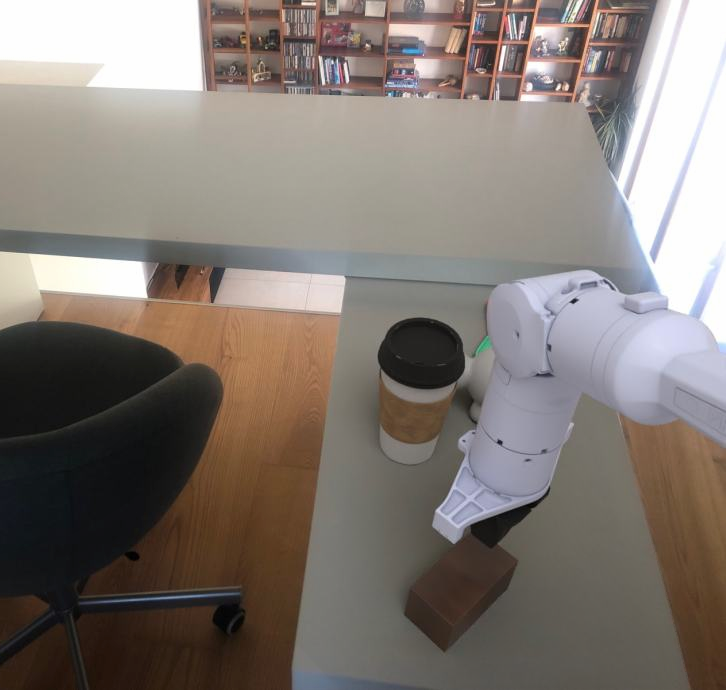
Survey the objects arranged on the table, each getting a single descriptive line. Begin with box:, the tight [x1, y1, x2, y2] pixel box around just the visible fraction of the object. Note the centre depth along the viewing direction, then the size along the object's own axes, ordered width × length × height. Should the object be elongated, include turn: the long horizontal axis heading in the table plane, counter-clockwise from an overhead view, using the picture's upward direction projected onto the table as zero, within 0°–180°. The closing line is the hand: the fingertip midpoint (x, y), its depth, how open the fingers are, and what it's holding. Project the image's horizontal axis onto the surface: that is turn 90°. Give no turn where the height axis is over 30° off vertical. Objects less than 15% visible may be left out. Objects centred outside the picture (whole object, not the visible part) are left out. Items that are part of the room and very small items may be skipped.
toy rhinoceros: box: [456, 347, 495, 424], centre depth 77 cm, size 7×12×8 cm, turn 68°
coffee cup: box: [376, 316, 466, 466], centre depth 71 cm, size 8×8×15 cm
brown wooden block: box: [403, 531, 519, 653], centre depth 60 cm, size 4×4×9 cm
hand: (485, 536), depth 57 cm, fingers closed
